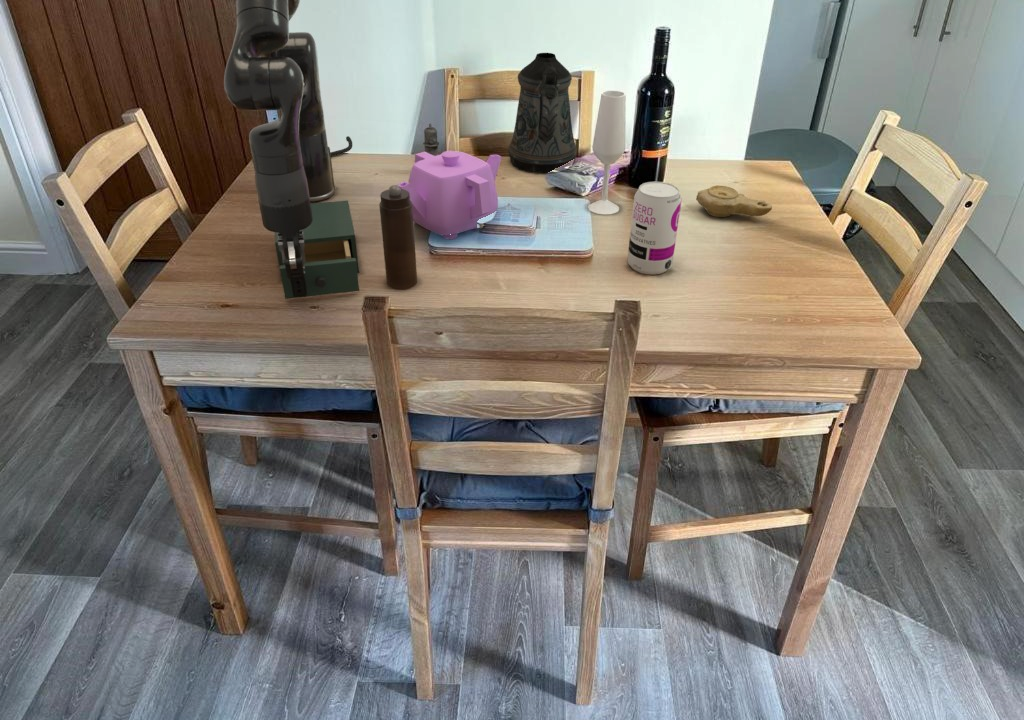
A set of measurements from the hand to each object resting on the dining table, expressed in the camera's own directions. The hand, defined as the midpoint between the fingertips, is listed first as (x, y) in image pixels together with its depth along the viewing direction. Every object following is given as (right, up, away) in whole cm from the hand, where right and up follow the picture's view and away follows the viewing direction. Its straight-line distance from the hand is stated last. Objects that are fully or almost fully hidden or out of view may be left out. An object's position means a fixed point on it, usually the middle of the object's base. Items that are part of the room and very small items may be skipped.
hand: (300, 294), depth 125 cm
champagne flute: (+55, +22, +38) cm, 70 cm away
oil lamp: (+81, +20, +36) cm, 91 cm away
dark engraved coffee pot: (+43, +37, +59) cm, 82 cm away
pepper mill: (+15, +3, +10) cm, 18 cm away
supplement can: (+60, +7, +16) cm, 63 cm away
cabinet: (-1, +8, +17) cm, 19 cm away
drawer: (+1, +4, +9) cm, 10 cm away
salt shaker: (+16, +32, +52) cm, 64 cm away
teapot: (+23, +17, +30) cm, 41 cm away
